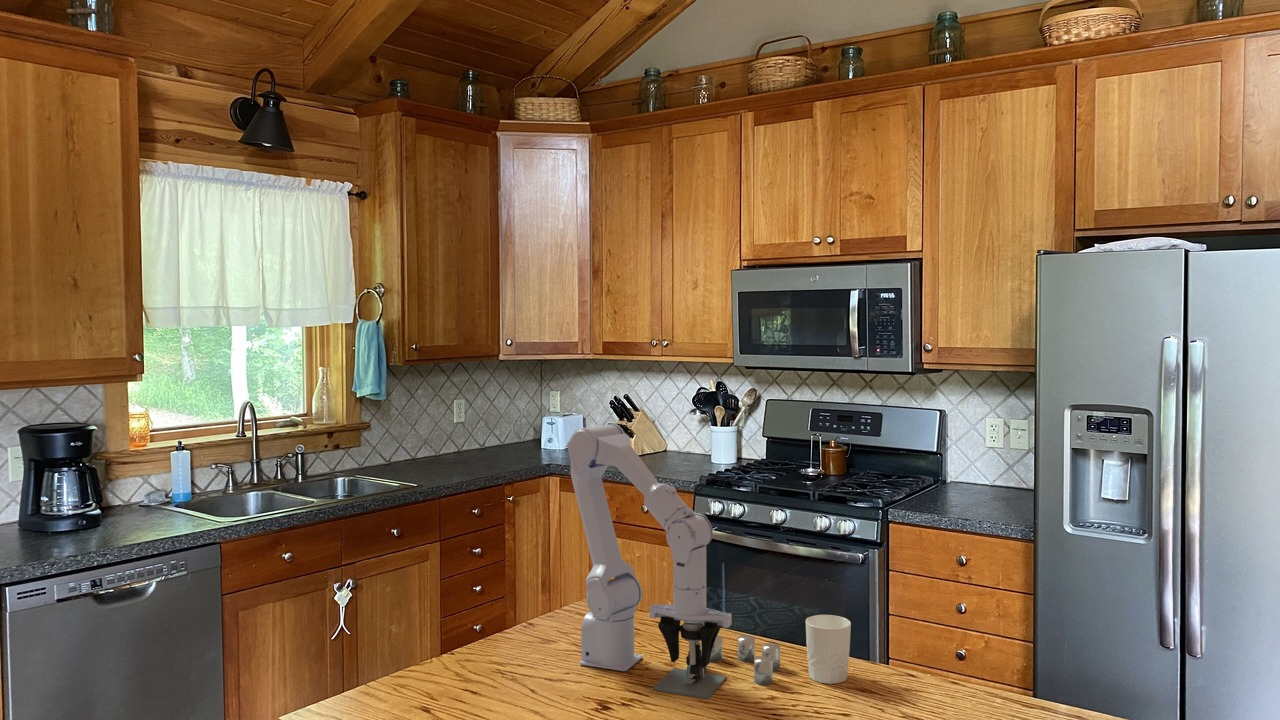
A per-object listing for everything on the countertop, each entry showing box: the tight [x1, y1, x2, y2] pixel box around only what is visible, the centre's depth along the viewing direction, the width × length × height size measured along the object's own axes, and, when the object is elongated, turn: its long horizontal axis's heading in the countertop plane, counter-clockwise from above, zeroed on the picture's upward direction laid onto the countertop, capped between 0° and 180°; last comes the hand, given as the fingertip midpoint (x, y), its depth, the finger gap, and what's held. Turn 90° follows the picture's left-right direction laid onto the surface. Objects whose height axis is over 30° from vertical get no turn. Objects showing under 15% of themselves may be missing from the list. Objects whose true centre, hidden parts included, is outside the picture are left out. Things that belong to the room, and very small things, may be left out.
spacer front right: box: [753, 655, 774, 686], centre depth 167 cm, size 3×3×4 cm
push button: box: [679, 621, 706, 683], centre depth 167 cm, size 7×5×10 cm
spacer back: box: [737, 634, 756, 663], centre depth 178 cm, size 3×3×4 cm
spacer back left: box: [710, 635, 724, 664], centre depth 178 cm, size 3×3×4 cm
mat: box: [652, 667, 727, 700], centre depth 166 cm, size 10×10×1 cm
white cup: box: [805, 614, 852, 685], centre depth 169 cm, size 8×8×10 cm
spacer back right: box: [761, 642, 781, 672], centre depth 174 cm, size 3×3×4 cm
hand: (690, 662), depth 166 cm, fingers closed on push button, 5 cm apart
